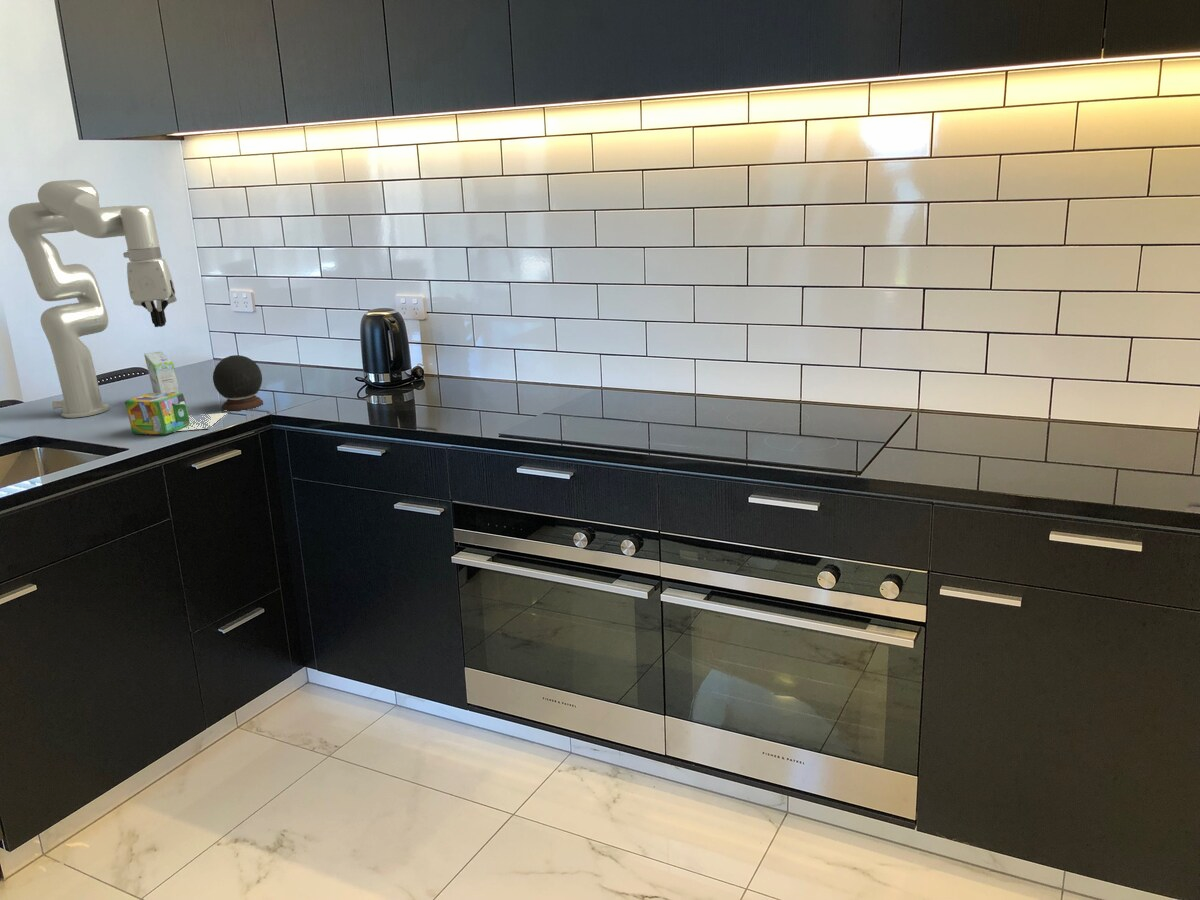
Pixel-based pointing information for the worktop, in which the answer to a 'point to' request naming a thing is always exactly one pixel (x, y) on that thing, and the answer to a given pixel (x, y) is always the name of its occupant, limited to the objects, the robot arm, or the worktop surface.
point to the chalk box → (157, 413)
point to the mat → (213, 420)
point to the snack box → (161, 373)
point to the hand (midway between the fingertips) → (160, 326)
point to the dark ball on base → (238, 382)
